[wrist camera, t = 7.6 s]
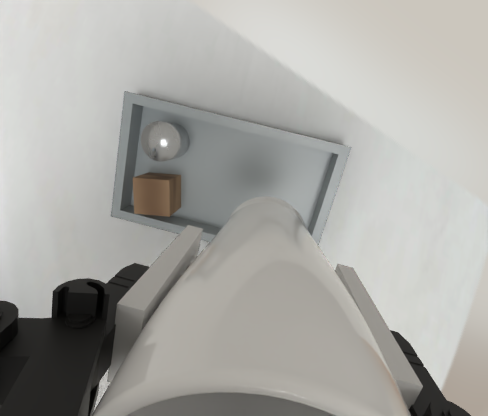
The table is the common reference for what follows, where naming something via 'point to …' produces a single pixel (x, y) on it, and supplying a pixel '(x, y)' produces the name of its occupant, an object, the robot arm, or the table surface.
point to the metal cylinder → (164, 140)
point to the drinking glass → (256, 333)
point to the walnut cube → (157, 194)
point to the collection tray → (226, 168)
